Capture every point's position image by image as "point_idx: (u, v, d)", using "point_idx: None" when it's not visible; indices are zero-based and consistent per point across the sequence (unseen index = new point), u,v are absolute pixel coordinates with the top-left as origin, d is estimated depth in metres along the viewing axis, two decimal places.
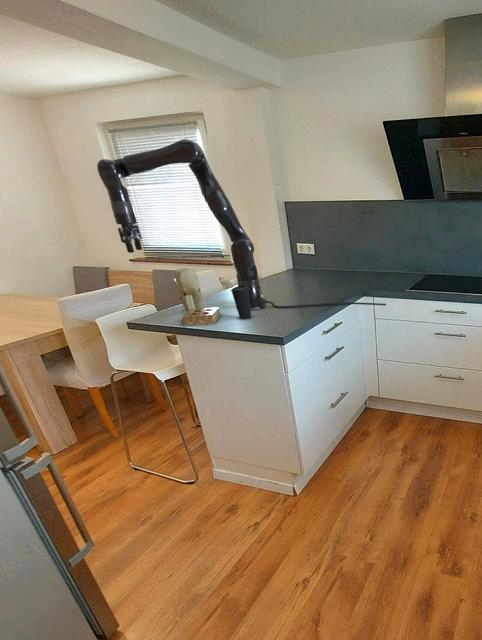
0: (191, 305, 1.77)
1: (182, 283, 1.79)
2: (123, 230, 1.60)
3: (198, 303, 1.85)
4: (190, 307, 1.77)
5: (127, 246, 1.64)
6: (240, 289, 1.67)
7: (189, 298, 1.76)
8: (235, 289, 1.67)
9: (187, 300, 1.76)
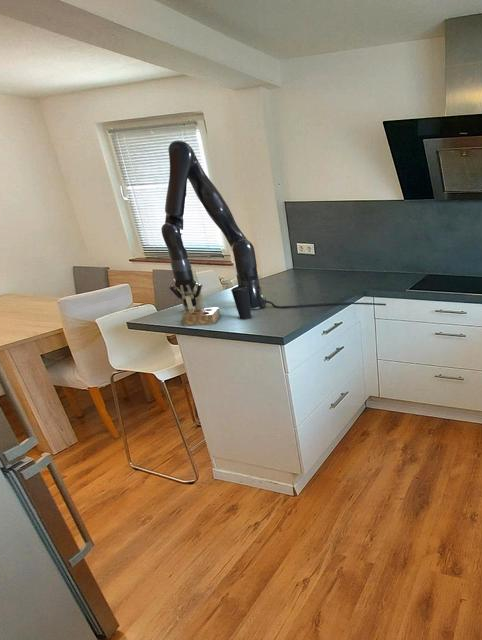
0: (191, 305, 1.77)
1: None
2: None
3: (198, 303, 1.85)
4: (190, 307, 1.77)
5: (184, 301, 1.77)
6: (240, 289, 1.67)
7: (189, 298, 1.76)
8: (235, 289, 1.67)
9: (187, 300, 1.76)
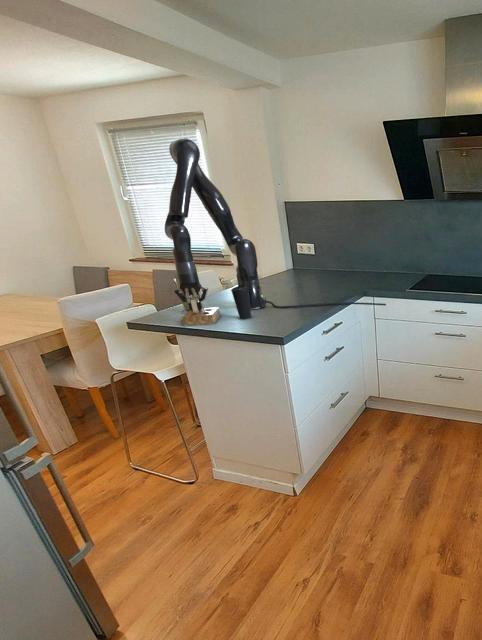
0: (196, 309, 1.70)
1: None
2: None
3: None
4: (195, 311, 1.71)
5: (189, 304, 1.70)
6: (240, 289, 1.67)
7: (194, 302, 1.69)
8: (235, 289, 1.67)
9: (192, 304, 1.69)
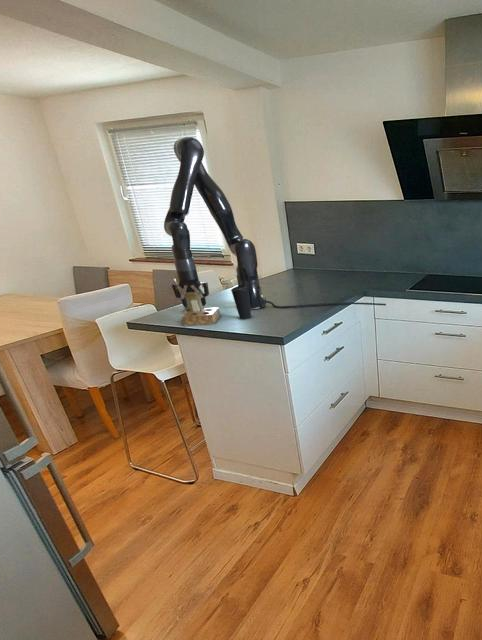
0: (197, 309, 1.71)
1: None
2: None
3: (198, 303, 1.85)
4: (196, 311, 1.71)
5: None
6: (240, 289, 1.67)
7: (195, 302, 1.69)
8: (235, 289, 1.67)
9: (193, 304, 1.69)
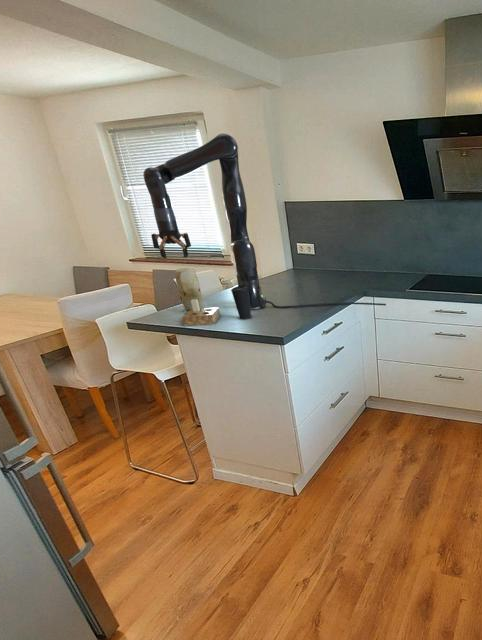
0: (197, 309, 1.71)
1: (182, 283, 1.79)
2: None
3: (198, 303, 1.85)
4: (196, 311, 1.71)
5: None
6: (240, 289, 1.67)
7: (195, 302, 1.69)
8: (235, 289, 1.67)
9: (193, 304, 1.69)
